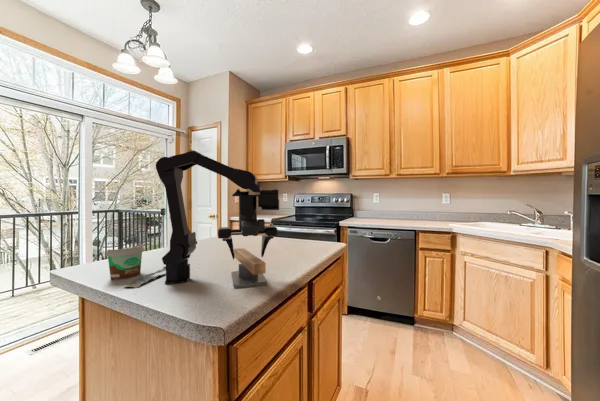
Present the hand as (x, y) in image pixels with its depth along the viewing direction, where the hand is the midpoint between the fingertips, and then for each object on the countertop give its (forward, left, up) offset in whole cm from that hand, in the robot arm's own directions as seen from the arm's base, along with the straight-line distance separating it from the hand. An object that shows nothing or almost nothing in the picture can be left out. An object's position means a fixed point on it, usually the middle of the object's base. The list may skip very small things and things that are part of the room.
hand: (248, 258), depth 85 cm
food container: (-38, +16, -7) cm, 42 cm away
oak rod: (0, 0, -2) cm, 2 cm away
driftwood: (-30, +12, -8) cm, 34 cm away
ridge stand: (0, 0, -7) cm, 7 cm away
